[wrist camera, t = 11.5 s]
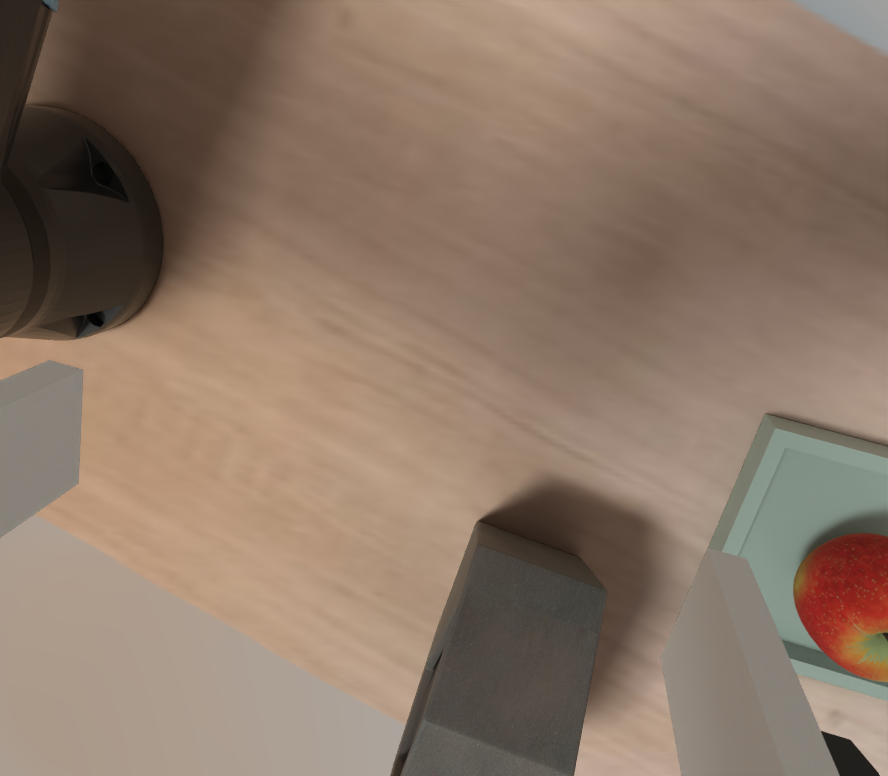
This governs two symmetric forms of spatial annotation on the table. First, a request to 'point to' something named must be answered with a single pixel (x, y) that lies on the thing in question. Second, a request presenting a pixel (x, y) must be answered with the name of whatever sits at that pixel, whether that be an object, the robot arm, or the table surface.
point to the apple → (847, 602)
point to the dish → (803, 522)
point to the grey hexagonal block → (507, 664)
